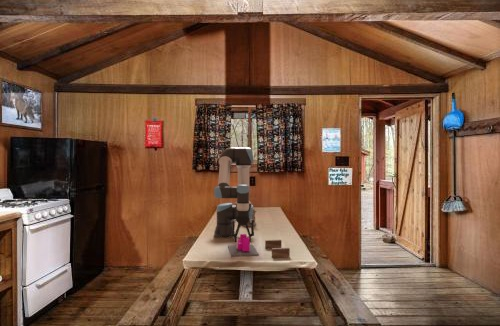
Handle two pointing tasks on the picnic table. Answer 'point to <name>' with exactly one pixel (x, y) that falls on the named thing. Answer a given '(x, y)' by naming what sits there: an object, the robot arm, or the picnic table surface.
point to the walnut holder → (277, 249)
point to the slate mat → (236, 252)
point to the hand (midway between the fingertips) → (242, 247)
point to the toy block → (243, 243)
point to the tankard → (252, 218)
